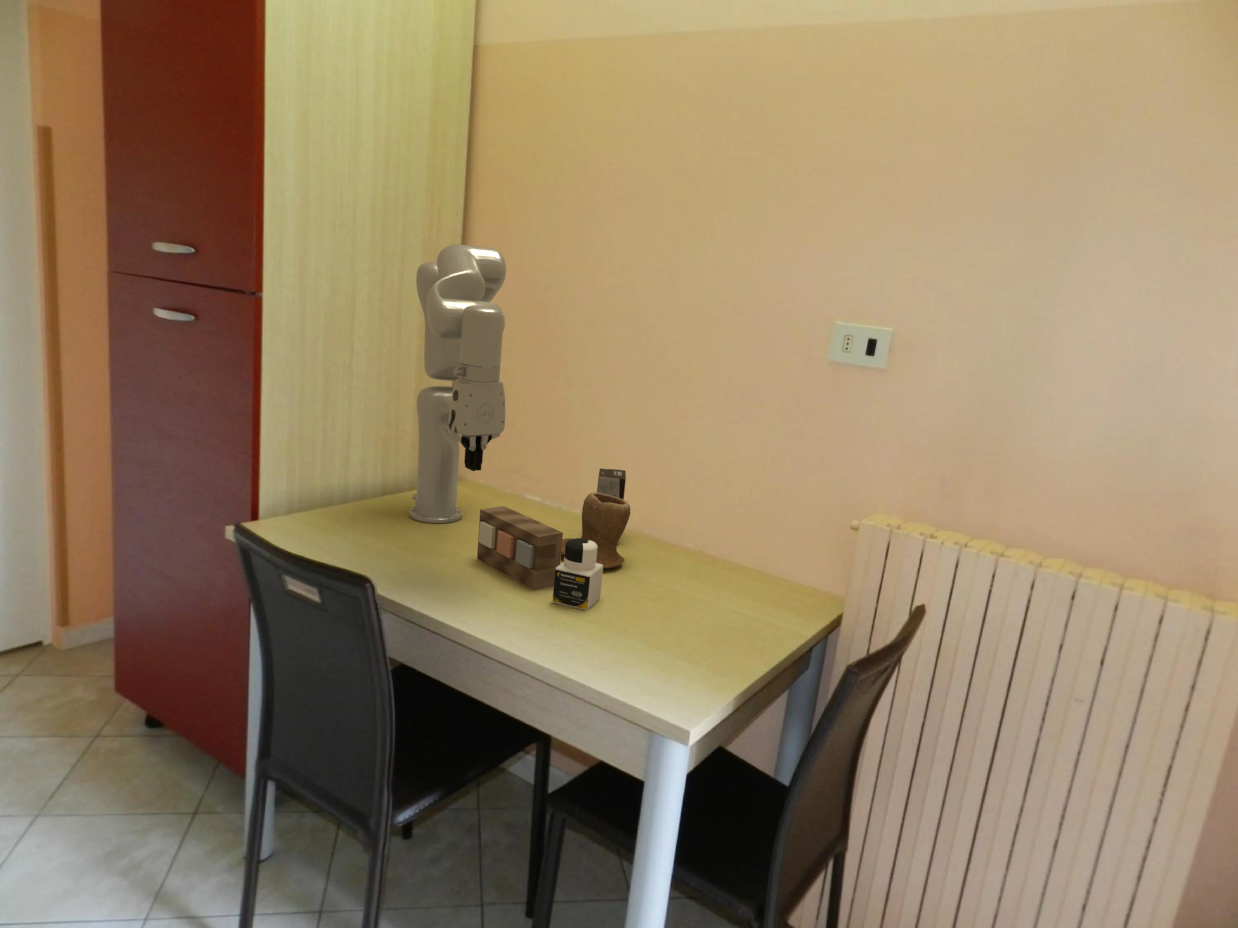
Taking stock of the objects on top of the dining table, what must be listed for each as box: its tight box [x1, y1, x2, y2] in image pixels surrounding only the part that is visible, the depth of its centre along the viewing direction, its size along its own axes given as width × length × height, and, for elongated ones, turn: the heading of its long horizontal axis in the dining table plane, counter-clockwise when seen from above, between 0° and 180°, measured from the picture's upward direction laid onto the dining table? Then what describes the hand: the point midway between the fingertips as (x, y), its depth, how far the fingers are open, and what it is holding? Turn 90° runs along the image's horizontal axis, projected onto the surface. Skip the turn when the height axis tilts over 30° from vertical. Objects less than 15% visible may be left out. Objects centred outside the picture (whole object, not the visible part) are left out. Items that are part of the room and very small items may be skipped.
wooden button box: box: [476, 505, 564, 591], centre depth 173 cm, size 20×6×11 cm, turn 43°
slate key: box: [515, 539, 535, 568], centre depth 167 cm, size 4×4×4 cm
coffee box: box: [596, 468, 627, 546], centre depth 200 cm, size 9×6×16 cm
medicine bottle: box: [552, 537, 604, 611], centre depth 161 cm, size 7×7×12 cm
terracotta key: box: [496, 530, 515, 558], centre depth 172 cm, size 4×4×4 cm
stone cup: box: [561, 491, 631, 569], centre depth 184 cm, size 15×12×15 cm
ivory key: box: [478, 521, 496, 548], centre depth 176 cm, size 4×4×4 cm
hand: (472, 468), depth 162 cm, fingers closed
